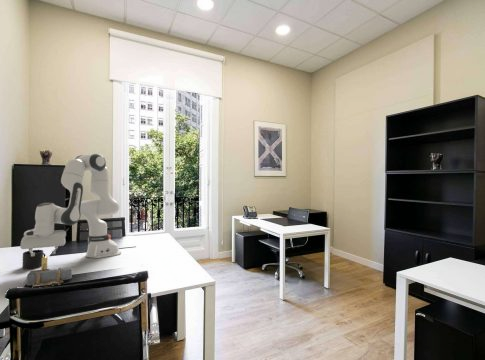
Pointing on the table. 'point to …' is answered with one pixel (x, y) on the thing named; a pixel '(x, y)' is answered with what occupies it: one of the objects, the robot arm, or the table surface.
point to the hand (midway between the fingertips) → (43, 255)
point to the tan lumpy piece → (39, 270)
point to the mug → (32, 259)
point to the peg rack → (48, 282)
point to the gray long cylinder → (49, 276)
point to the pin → (44, 263)
